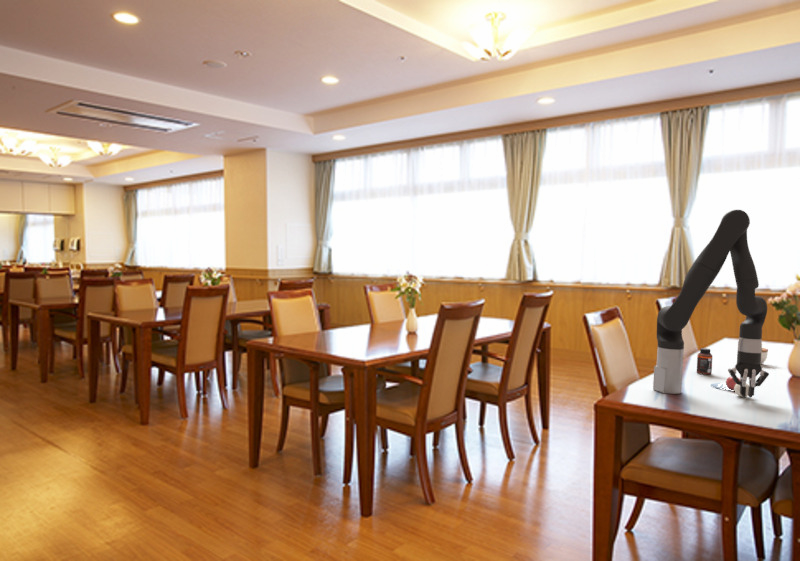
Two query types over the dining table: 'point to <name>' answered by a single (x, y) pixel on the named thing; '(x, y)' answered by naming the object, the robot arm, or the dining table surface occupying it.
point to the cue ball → (737, 389)
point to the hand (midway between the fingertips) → (746, 396)
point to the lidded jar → (764, 355)
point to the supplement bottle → (704, 362)
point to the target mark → (717, 385)
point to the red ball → (731, 383)
